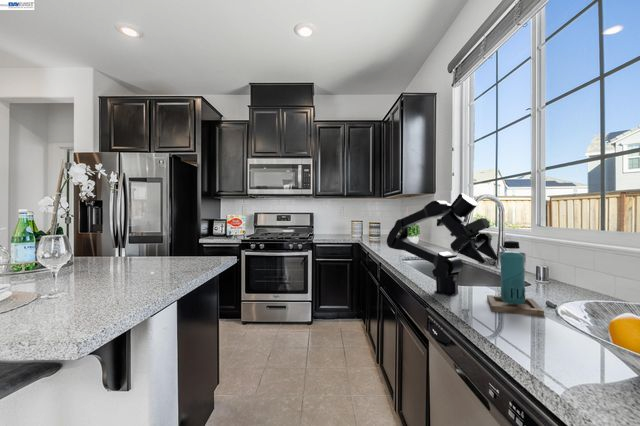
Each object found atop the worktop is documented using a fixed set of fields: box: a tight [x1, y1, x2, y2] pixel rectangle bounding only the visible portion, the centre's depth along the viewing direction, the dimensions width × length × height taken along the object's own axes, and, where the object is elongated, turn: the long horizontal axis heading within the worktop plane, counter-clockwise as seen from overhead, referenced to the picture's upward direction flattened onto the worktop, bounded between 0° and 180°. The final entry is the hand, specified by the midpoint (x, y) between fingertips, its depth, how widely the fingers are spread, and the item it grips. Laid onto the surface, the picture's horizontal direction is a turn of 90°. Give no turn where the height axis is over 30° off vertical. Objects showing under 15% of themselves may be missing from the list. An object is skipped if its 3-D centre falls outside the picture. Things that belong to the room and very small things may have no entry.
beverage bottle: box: [499, 240, 526, 304], centre depth 88 cm, size 6×7×20 cm
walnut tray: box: [486, 294, 545, 318], centre depth 88 cm, size 13×13×2 cm
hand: (490, 261), depth 93 cm, fingers open, 9 cm apart
